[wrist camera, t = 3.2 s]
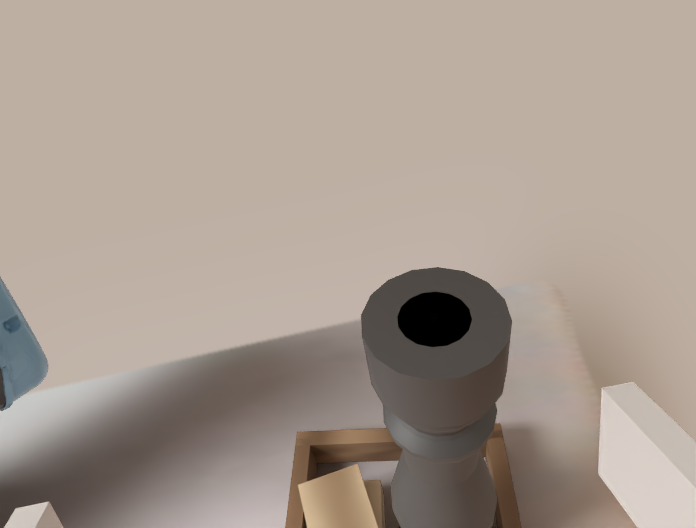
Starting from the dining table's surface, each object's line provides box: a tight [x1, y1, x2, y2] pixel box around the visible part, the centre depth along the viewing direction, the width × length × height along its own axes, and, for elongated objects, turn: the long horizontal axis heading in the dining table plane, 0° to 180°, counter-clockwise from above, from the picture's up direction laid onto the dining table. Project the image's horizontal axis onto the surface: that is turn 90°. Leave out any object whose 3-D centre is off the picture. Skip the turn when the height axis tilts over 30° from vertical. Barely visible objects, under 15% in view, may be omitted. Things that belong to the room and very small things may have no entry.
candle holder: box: [361, 267, 512, 528], centre depth 27 cm, size 6×6×25 cm
